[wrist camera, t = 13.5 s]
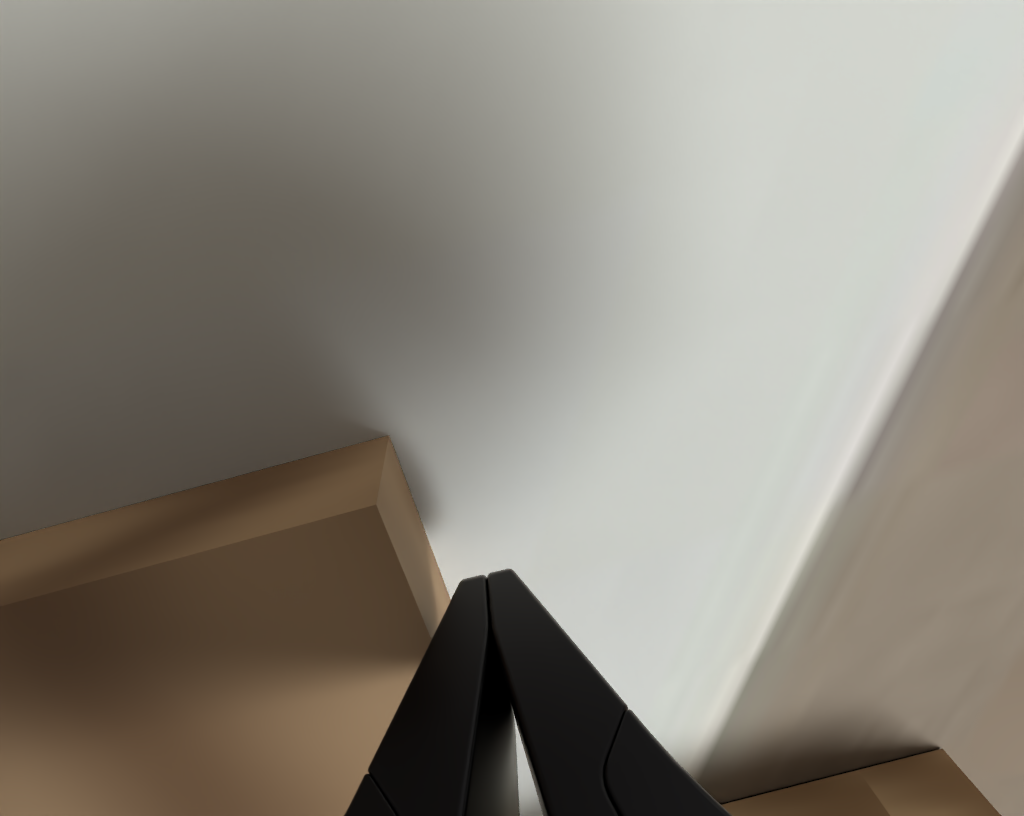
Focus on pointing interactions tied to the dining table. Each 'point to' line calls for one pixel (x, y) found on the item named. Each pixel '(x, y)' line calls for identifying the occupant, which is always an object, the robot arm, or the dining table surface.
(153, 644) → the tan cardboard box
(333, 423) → the dining table surface
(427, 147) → the dining table surface
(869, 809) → the socket block
